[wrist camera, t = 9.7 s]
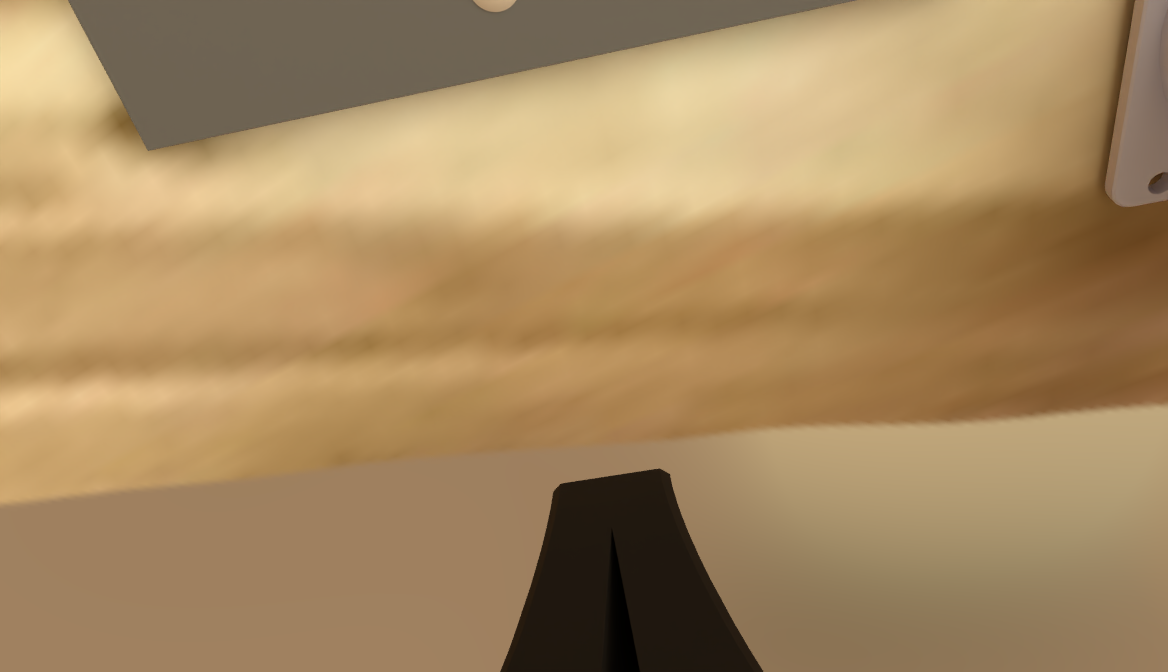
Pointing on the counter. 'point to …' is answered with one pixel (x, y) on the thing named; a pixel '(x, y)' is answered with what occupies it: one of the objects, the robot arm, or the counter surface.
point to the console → (357, 50)
